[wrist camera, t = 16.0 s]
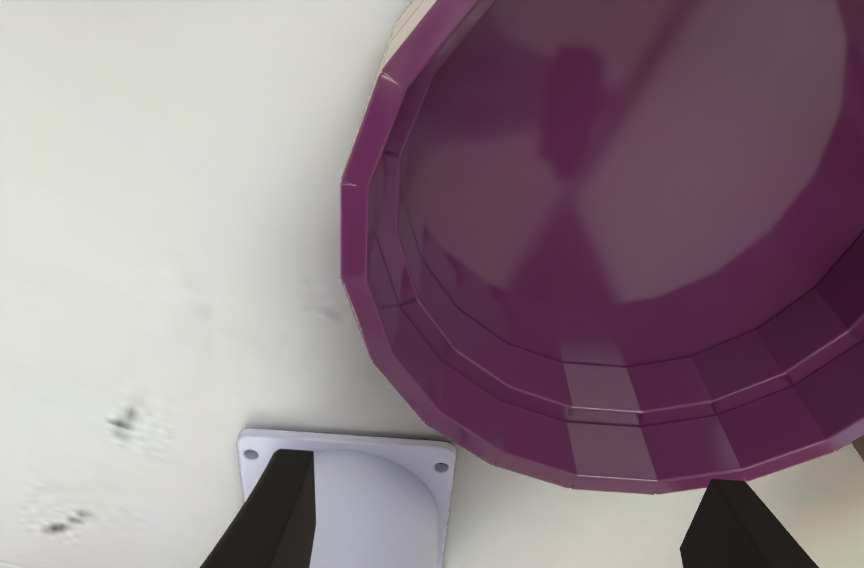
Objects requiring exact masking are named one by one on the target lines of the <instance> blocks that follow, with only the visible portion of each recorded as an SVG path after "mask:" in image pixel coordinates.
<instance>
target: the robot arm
mask: <svg viewBox="0 0 864 568" xmlns="http://www.w3.org/2000/svg"><path fill="white" fill-rule="evenodd" d="M237 450H238V458H239V466H240V474H241V483H242V491H243V499H244V505H243V506H242V508H241V509H240V511H239V513H238V514H237V516H236V517H235V519H234V520H233V521H232V523H231V524H230V526H229V527H228V529H227V530H226V532H225V533H224V535H223V536H222V537H221V539H220V540H219V542H218V543H217V545H216V546H215V548H214V549H213V550H212V552H211V553H210V555H209V556H208V557H207V559H206V560H205V561H204V563H203V564H202V565H201V567H200V568H442V560H443V553H444V545H445V538H446V530H447V523H448V515H449V508H450V500H451V493H452V485H453V478H454V470H455V463H456V448H455V447H454V446H453V445H452V444H450V443H448V442H444V441H429V440H415V439H400V438H386V437H371V436H357V435H342V434H328V433H313V432H299V431H284V430H270V429H255V428H249V429H244V430H242V431H241V432H240V433H239V436H238V439H237ZM250 450H254V451H256V452H254V451H250ZM438 463H445V464H438ZM680 552H681V557H682V563H683V568H819V567H818V566H817V565H816V564H815V563H814V562H813V560H812V559H811V558H810V557H809V556H808V555H807V553H806V552H805V551H804V550H803V549H802V548H801V546H800V545H799V544H798V543H797V542H796V541H795V539H794V538H793V537H792V536H791V535H790V534H789V532H788V531H787V530H786V529H785V528H784V527H783V525H782V524H781V523H780V522H779V521H778V519H777V518H776V517H775V516H774V515H773V514H772V512H771V511H770V510H769V509H768V508H767V506H766V505H765V504H764V503H763V502H762V501H761V499H760V498H759V497H758V496H757V495H756V493H755V492H754V491H753V490H752V489H751V488H750V487H749V485H748V484H747V483H746V482H745V481H737V480H723V479H711V480H710V483H709V485H708V487H707V489H706V491H705V494H704V496H703V498H702V500H701V503H700V505H699V507H698V509H697V511H696V514H695V516H694V518H693V520H692V522H691V525H690V527H689V529H688V531H687V534H686V536H685V538H684V540H683V542H682V545H681V547H680Z"/></svg>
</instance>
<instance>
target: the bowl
mask: <svg viewBox="0 0 864 568" xmlns="http://www.w3.org/2000/svg"><path fill="white" fill-rule="evenodd" d="M340 278H341V280H342V284H343V287H344V290H345V292H346V295H347V298H348V300H349V303H350V305H351V308H352V311H353V313H354V316H355V319H356V321H357V324H358V327H359V329H360V332H361V334H362V337H363V340H364V342H365V345H366V348H367V350H368V353H369V356H370V358H371V360H373V363H374V364H375V366H376V367H377V368H378V369H379V370H380V371H381V373H382V374H383V375H384V376H385V377H386V378H387V380H388V381H389V382H390V383H391V384H392V385H393V387H394V388H395V389H396V390H397V391H398V393H399V394H400V395H401V396H402V397H403V398H404V400H405V401H406V402H407V403H408V404H409V405H410V407H411V408H412V409H413V410H414V411H415V412H416V414H417V415H418V416H419V417H420V418H421V419H422V421H424V422H425V424H427V425H428V426H430V427H431V428H433V429H435V430H436V431H438V432H439V433H441V434H443V435H444V436H446V437H447V438H449V439H451V440H452V441H454V442H455V443H457V444H459V445H460V446H462V447H463V448H465V449H467V450H468V451H470V452H471V453H473V454H475V455H476V456H478V457H479V458H481V459H483V460H484V461H486V462H487V463H489V464H491V465H492V464H493V465H494V466H496V467H500V468H503V469H506V470H510V471H513V472H516V473H519V474H523V475H526V476H529V477H533V478H536V479H539V480H542V481H546V482H549V483H552V484H555V485H559V486H562V487H565V488H571V489H577V490H592V491H607V492H622V493H636V494H651V495H654V494H655V493H656V494H665V493H672V492H680V491H687V490H694V489H701V488H707V487H708V485H709V483H710V480H711V479H723V480H737V481H746V482H748V481H751V480H754V479H757V478H760V477H763V476H766V475H768V474H771V473H774V472H777V471H780V470H783V469H786V468H789V467H792V466H795V465H798V464H800V463H803V462H806V461H809V460H812V459H815V458H818V457H821V456H824V455H827V454H830V453H832V452H834V450H835V451H837V450H839V449H841V448H843V447H844V446H846V445H848V444H850V443H851V442H853V441H855V440H857V439H858V438H860V437H862V436H863V435H864V0H413V1H412V3H411V4H410V5H409V7H408V8H407V9H406V10H405V12H404V13H403V14H402V16H401V17H400V18H399V19H398V21H397V22H396V25H395V27H394V28H393V31H392V34H391V37H390V39H389V42H388V45H387V48H386V50H385V53H384V56H383V59H382V62H381V64H380V67H379V70H378V73H377V75H376V78H375V81H374V84H373V87H372V89H371V92H370V95H369V98H368V101H367V103H366V106H365V109H364V112H363V115H362V118H361V121H360V124H359V127H358V130H357V133H356V136H355V139H354V142H353V145H352V148H351V151H350V154H349V157H348V160H347V163H346V166H345V169H344V172H343V175H342V180H341V183H340Z"/></svg>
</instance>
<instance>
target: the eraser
mask: <svg viewBox="0 0 864 568" xmlns="http://www.w3.org/2000/svg"><path fill="white" fill-rule="evenodd" d="M851 443H852V445H853V446H854V448H855V449H856V451H857V452H858V454H859V455H860V456H861V458H862V459H863V461H864V435H863V436H862V437H860V438H858V439H857V440H855V441H853V442H851Z"/></svg>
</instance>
